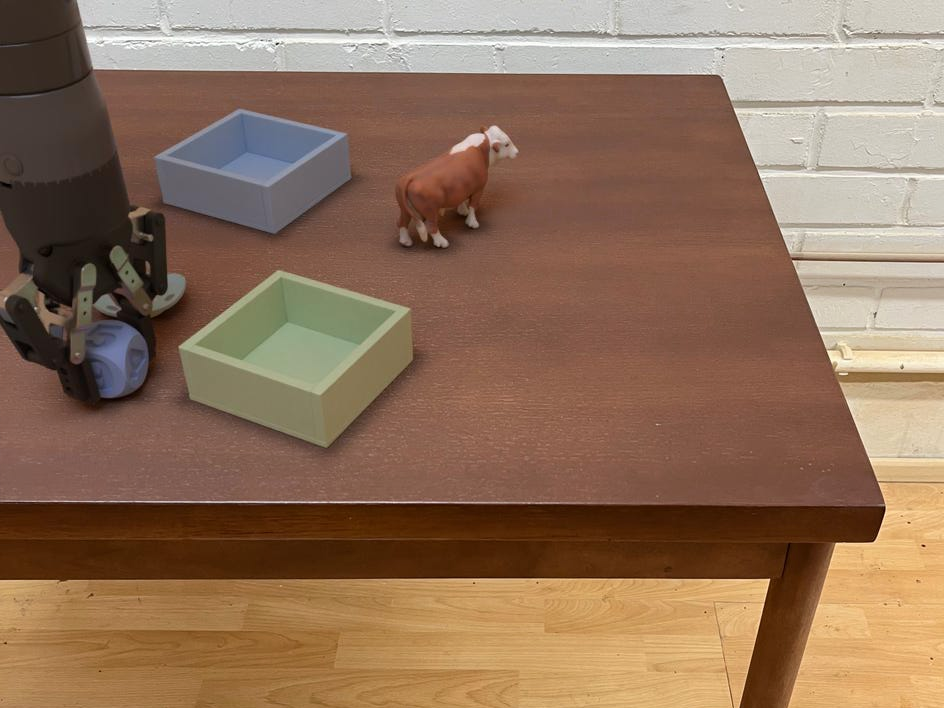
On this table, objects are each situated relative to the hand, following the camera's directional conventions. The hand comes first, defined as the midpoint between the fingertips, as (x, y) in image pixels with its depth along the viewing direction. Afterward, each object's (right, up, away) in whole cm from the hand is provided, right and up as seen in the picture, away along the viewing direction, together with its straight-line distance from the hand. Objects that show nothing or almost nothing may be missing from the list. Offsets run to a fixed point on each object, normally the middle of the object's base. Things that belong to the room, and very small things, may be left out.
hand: (114, 377), depth 72 cm
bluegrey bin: (+5, +20, +24) cm, 32 cm away
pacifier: (-1, +6, +9) cm, 11 cm away
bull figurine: (+24, +15, +19) cm, 34 cm away
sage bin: (+13, 0, +2) cm, 13 cm away
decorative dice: (0, 0, 0) cm, 1 cm away
